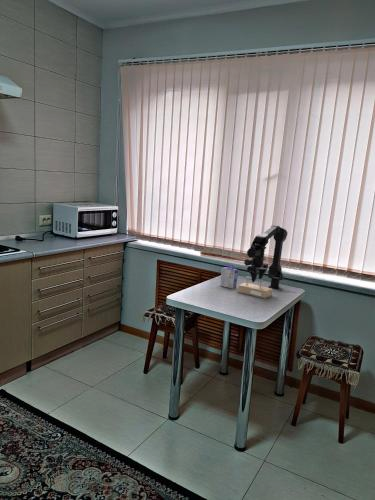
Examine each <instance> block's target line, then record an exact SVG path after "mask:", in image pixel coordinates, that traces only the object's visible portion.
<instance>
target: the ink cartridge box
mask: <svg viewBox="0 0 375 500" xmlns="http://www.w3.org/2000/svg"><path fill="white" fill-rule="evenodd" d="M234 266H235V265H234V264H230V263H229V264H228V265H227V266H226V267H225V266H224V267H221V272H220V280H219V281H220V282H219V286H220V287H226V288H228V289H235V288H237V287H238V285H237V284H238V275H239V269H238V268H234Z"/></svg>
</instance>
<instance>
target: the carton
mask: <svg viewBox="0 0 375 500" xmlns="http://www.w3.org/2000/svg"><path fill="white" fill-rule="evenodd" d="M237 287H238V289H237V293H239V294H240V293H241V294H244V295H247V296H252V297H256V298H260V299H264V300H265V299H268V298H271V297H272V295H273V294H272V293H273V289H272V290H270V291H267V292H263V291H259V290H255V289H250V288H246V287H242V286H237Z"/></svg>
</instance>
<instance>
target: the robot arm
mask: <svg viewBox="0 0 375 500" xmlns="http://www.w3.org/2000/svg"><path fill="white" fill-rule="evenodd" d="M287 236H288V231H287V229H285V228H283V227H281V226H280V225H275V224H272V225H271V226H270V227H269V228H268V229H267V230H266V231H264V232H263V233H260V234H259V233H258V234H257V235H256V236H255V237H254V238H253V240H252V242H251V245H250V248H248V249H247V251H246V254H247V255H246V256H247V257H248V258H251V259H248V258H247V259H245V260H244V262H243V263H244V265H245V267H247V268H246V271H247V272H248V273H249V274H250V277H251V278H252V280H251V282H252V283H255V282H256V281H255V279H256V278H257V276H258V279H262V278H263V277H264V275H265V274H266V272H267V276H268V279H270V284H269V286H268V287H267V288H272V289H275V290H279V289H281V286H280V284H281V283H280V281H284V274H283V271H282V270H283V269H282V265H281V259H282V251H283V244H284V242H285V241H286V240H287ZM272 237H273V239H274V248H273V256H272V257H273V258H272V263H271V265H269V264H268V263H264V261H265V260H266V258H265V253H266V252H265V251H266V249H267V247H266V246H267V245H268V243H269V240H270V239H271V238H272ZM267 270H268V271H267ZM262 280H263V279H262Z"/></svg>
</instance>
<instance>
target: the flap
mask: <svg viewBox="0 0 375 500" xmlns="http://www.w3.org/2000/svg"><path fill="white" fill-rule="evenodd" d="M249 280H251V281H252V278H251V276H247V275H246V281H245V282H242V283H240V284H238V285H237V287H239V286H242V287H246V288H250V289H255V290H259V291H263V292H267V291H270V290H272V291H273V288H270V287H266V286H262V284H263V279H259V277H258V278H257V277H256V279H255V282H258V283H259V285H257V284H253V283H251V282H249Z"/></svg>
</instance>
